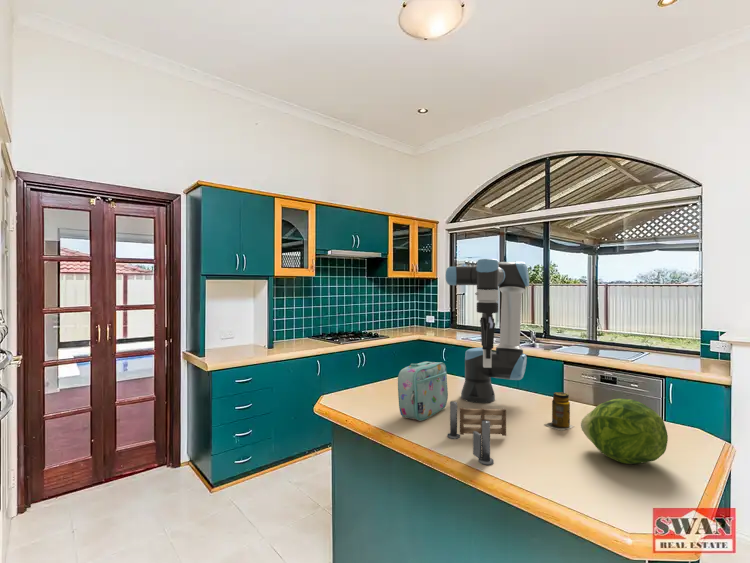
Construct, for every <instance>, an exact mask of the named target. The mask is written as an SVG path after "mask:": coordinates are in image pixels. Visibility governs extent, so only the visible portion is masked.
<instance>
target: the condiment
mask: <svg viewBox="0 0 750 563" xmlns="http://www.w3.org/2000/svg"><path fill="white" fill-rule="evenodd" d="M570 408H571V402H570V396H569V394H568V393H566V392H562V391H561V392H560V391H558V392H557V391H556V392H553V399H552V402H551V422H548V423H544V424H543V425H544V426H546V427H548V428H552V429H554V430H558V431H561V432H563V431H565V430H569V429H572V428H574V427H575V425H572V424H571V422H570V421H571V409H570Z"/></svg>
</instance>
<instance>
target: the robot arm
mask: <svg viewBox="0 0 750 563" xmlns="http://www.w3.org/2000/svg"><path fill="white" fill-rule="evenodd" d="M445 281H446V283H447V285H449V286H476V292H475V293H474V295H475V296H476V301H477V302H476V313H479V314H481V317H480V319H479V323H480V338H481V340H480V341H481V346H482V347H474V348H469V349H467V350H466V351H465V354H464V356H465V357H464V383H463V386H462V389H461V392H460V397H461V399H462V400H464V401H466V400H467V401H466V402H471V403H479V404H480V403H481V404H486V403H493V402H494V401H495V400H496V394H495V390H494V389H493V385H492V384H493V383H492V378H495V379H503V380H510V381H520V380H522V379H523V378H524V376H525V372H526V367H527V359H528V358H527V355H526V354H525V353H524V349H523V348H522V347H521V343H520V342H521V324H522V323H521V321H522V320H521V319H522V318H521V317H522V316H521V314H522V294H523V293H525V292H526V288H528V287H529V286H530V277H529V270H528V266H527V263H525V262H524V261H516V260H515V261H499V260H498V259H495V258H480V259H478V260H477V261H476V265H472V266H469V265H467V266H465V265H464V266H463V265H462V266H459V265H458V266H457V265H456V266H455V265H454V266H448V267H447V268H446V270H445ZM499 291H500V292H501V309H500V310H501V311H500V331H499V345H497V346H496V347H495V351H492V350H493V349H494V341H495V328H496V322H495V318H494V316H493V314H497V313H499V303H498V301H499Z"/></svg>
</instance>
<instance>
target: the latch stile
mask: <svg viewBox="0 0 750 563" xmlns="http://www.w3.org/2000/svg"><path fill="white" fill-rule="evenodd" d="M490 428H491V425H490V421H487V420H483V421H482V435H481V434H480V433H478V432H477V431H473V434H472V454H473V456H475V457H476V458H477V459H478V460H477V461H478V463H479V464H481V465H484V466H492V465H494V463H495V462H494V459H493V458H492V457H491V434H490Z"/></svg>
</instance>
